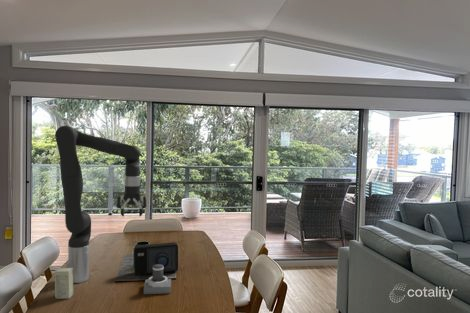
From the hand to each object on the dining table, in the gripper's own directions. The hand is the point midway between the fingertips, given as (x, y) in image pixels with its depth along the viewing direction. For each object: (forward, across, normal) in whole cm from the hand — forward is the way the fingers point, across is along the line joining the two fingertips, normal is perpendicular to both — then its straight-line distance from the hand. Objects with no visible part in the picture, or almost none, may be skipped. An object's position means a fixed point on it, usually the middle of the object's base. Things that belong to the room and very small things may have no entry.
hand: (131, 216), depth 178 cm
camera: (+30, +13, -1) cm, 33 cm away
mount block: (+30, +15, -20) cm, 39 cm away
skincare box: (+30, -25, -24) cm, 46 cm away
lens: (+27, +15, -20) cm, 37 cm away
